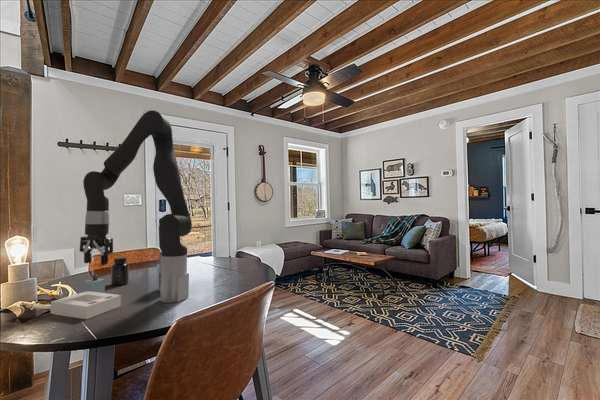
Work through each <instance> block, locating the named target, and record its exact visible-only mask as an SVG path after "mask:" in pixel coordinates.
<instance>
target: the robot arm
mask: <svg viewBox="0 0 600 400" xmlns="http://www.w3.org/2000/svg"><path fill="white" fill-rule="evenodd" d="M150 136H151V137H152V139H153V144H154V149H155V155H154V159H153V166H152V170H153V175H154V181H155V184H156V186H157V188H158V190H159V191H160V193H161V194H162V195H163V197H164V198H165V200H166V201H167V203H168V205H169V208H170V213H167V214H165V215H163V216H162V217H161V218H160V219H159V220H160V221H159V223H158V242H159V243H158V247H159V249H160V253H161V291H159V292H160V299H159V301H160V302H161V303H167V304H170V303H180V302H182V301H184V300H186V299H188V298H189V294H190V293H189V291H190V290H189V289H190V288H189V287H190V274H189V273H188V247H187V246H186V245H183V244H182V243H181V237H185V236H188V235H189V234H190V233H191V230H192V227H193V226H192V225H193V223H192V218H191V215H190V211H189V208H188V206H187V201H186V200H185V194H184V190H183V186H182V181H181V175H180V170H179V165H178V161H177V156H176V152H175V149H174V141H173V130H172V124H171V121H169V119H167V118H166V117H165V115H163V114H162V113H160V112H159V111H157V110H148V111H146V112H144V114H142V115H141V116H140V118H139V119H138V120H137V122H136V123H135V125H134V126H133V128H132V129H131V131H130V132H129V134H128V135H127V136H126V137H125V138H124V140H123V141H122V143H121V144H120V145H119V146H118V147H117V148H116V149H115V150H114V151H113V152H112V153H111V154H110V155H109V156H108V157H107V158H106V159H105V160H104V162H103V166H104V167H103V169H102V170H101V171H95V170H93V171H89V172H87V173H86V174H85V175H84V178H83V182H82V183H83V189H84V195H85V198H86V213H85V222H84V223H85V224H84V235H85V236H80V238H79V239H80V242H79V252H80V253H82V254H83V263H84V264H91V262H92V251H93V250H95V249H96V250H97V251H98V252H99V253H100V265H101V266H104V265H105V266H106V265H108V263H109V254H113V253H114V239H113V237H107V235H109V230H110V229H109V227H110V226H109V225H110V215H109V211H110V210H109V209H110V207H109V205H110V200H109V197H107V196H105V192H104V191H107V190H109V189H110V188H112V187H113V186H114V185H115V184H116V183H117V181H118V179H119V178H120V175H121V174H122V173H123V172H124V171H125V170H126V169H127V168H128V167H129V166H130V165H131V164H132V162H133V161H134V160H135V159H136V157H137V154H138V153H139V149H140V147H142V146H141V145H142V144H143V143H144V142H145V140H146V139H148V138H149V137H150Z"/></svg>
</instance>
